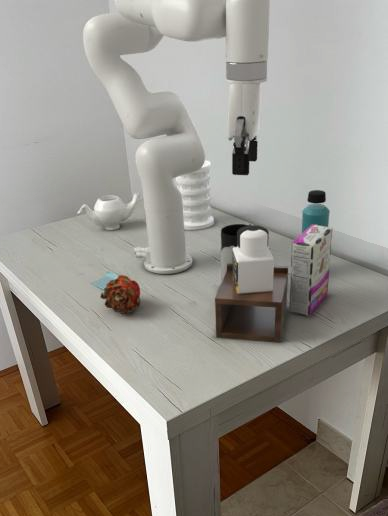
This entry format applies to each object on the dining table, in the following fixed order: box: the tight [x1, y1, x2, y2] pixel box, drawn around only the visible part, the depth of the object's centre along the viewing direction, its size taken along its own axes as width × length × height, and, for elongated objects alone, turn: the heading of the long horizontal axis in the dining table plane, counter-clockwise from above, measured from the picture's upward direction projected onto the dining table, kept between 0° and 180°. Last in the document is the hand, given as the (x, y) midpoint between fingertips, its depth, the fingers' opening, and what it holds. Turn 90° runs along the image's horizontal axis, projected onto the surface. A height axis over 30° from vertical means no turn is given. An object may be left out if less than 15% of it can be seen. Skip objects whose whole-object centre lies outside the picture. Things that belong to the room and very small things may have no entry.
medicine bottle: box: [232, 224, 275, 294], centre depth 108 cm, size 7×7×12 cm
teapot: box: [77, 192, 141, 231], centre depth 167 cm, size 10×20×9 cm, turn 112°
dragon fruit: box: [100, 274, 141, 314], centre depth 122 cm, size 8×8×12 cm
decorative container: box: [175, 159, 215, 231], centre depth 164 cm, size 12×12×18 cm
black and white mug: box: [220, 222, 252, 284], centre depth 127 cm, size 9×14×15 cm, turn 158°
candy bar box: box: [289, 225, 333, 317], centre depth 117 cm, size 11×5×16 cm, turn 148°
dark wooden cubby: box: [214, 264, 289, 343], centre depth 113 cm, size 13×14×10 cm
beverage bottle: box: [300, 189, 331, 235], centre depth 130 cm, size 6×7×20 cm
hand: (245, 167), depth 109 cm, fingers open, 9 cm apart
